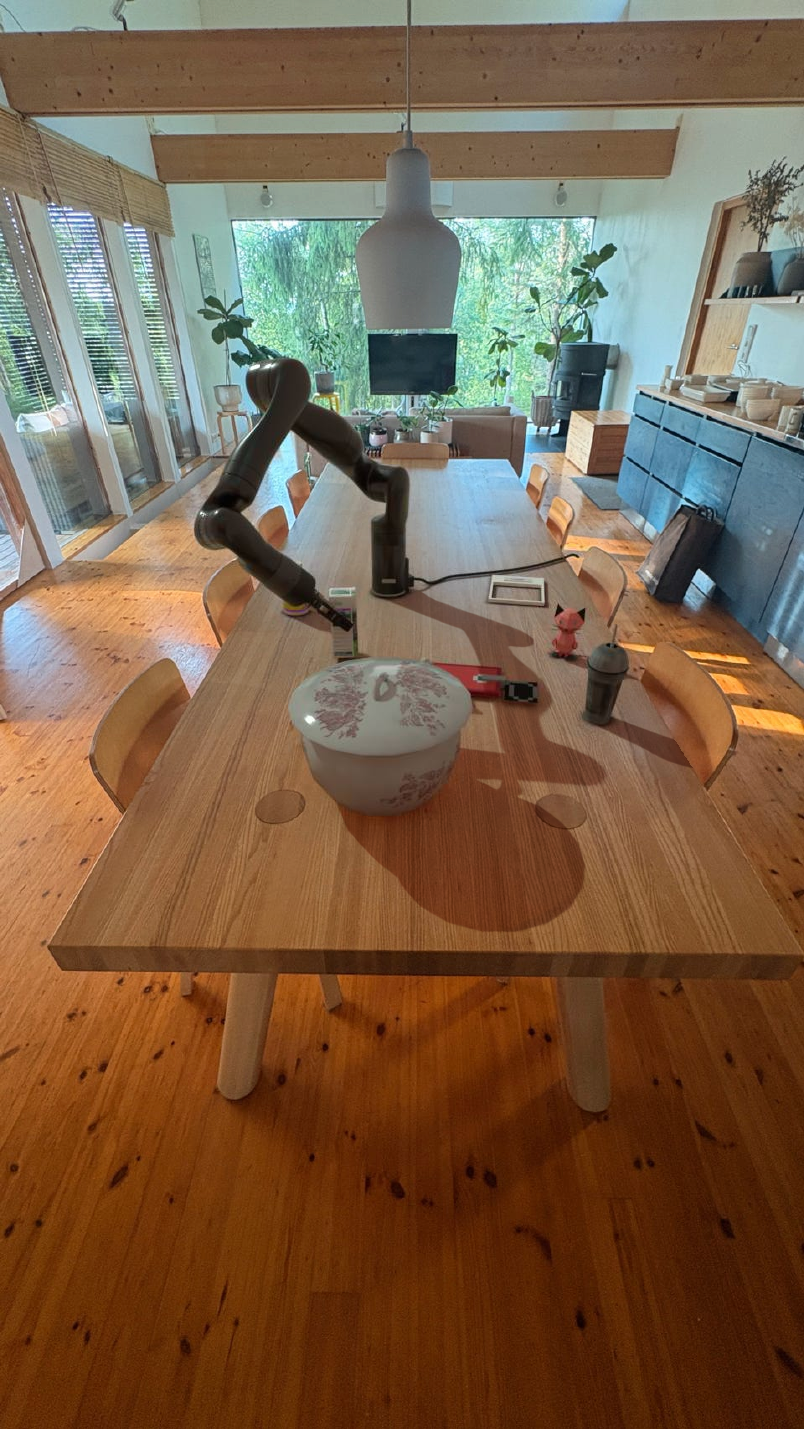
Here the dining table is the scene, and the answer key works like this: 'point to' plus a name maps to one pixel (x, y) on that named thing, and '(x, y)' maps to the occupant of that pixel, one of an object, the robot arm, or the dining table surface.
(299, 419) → the robot arm
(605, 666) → the beverage cup
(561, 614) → the cat figurine
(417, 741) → the chamber pot
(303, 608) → the supplement bottle
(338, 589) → the syrup box
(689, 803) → the dining table surface
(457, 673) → the red board with handle
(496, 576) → the photo frame
